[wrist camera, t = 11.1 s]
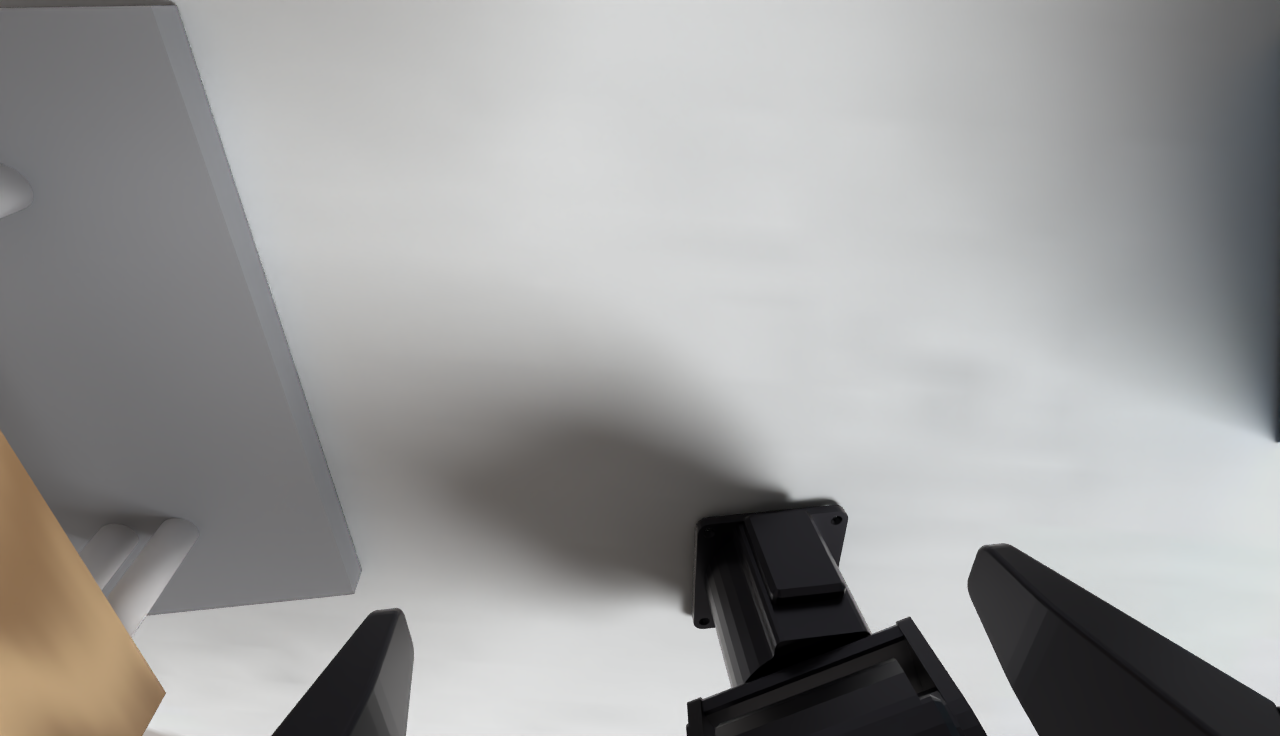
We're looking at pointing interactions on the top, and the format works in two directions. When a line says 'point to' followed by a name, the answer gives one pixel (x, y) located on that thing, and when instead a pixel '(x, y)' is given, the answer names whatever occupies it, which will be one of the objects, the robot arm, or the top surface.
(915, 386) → the top surface
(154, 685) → the wooden block
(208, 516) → the peg stand
